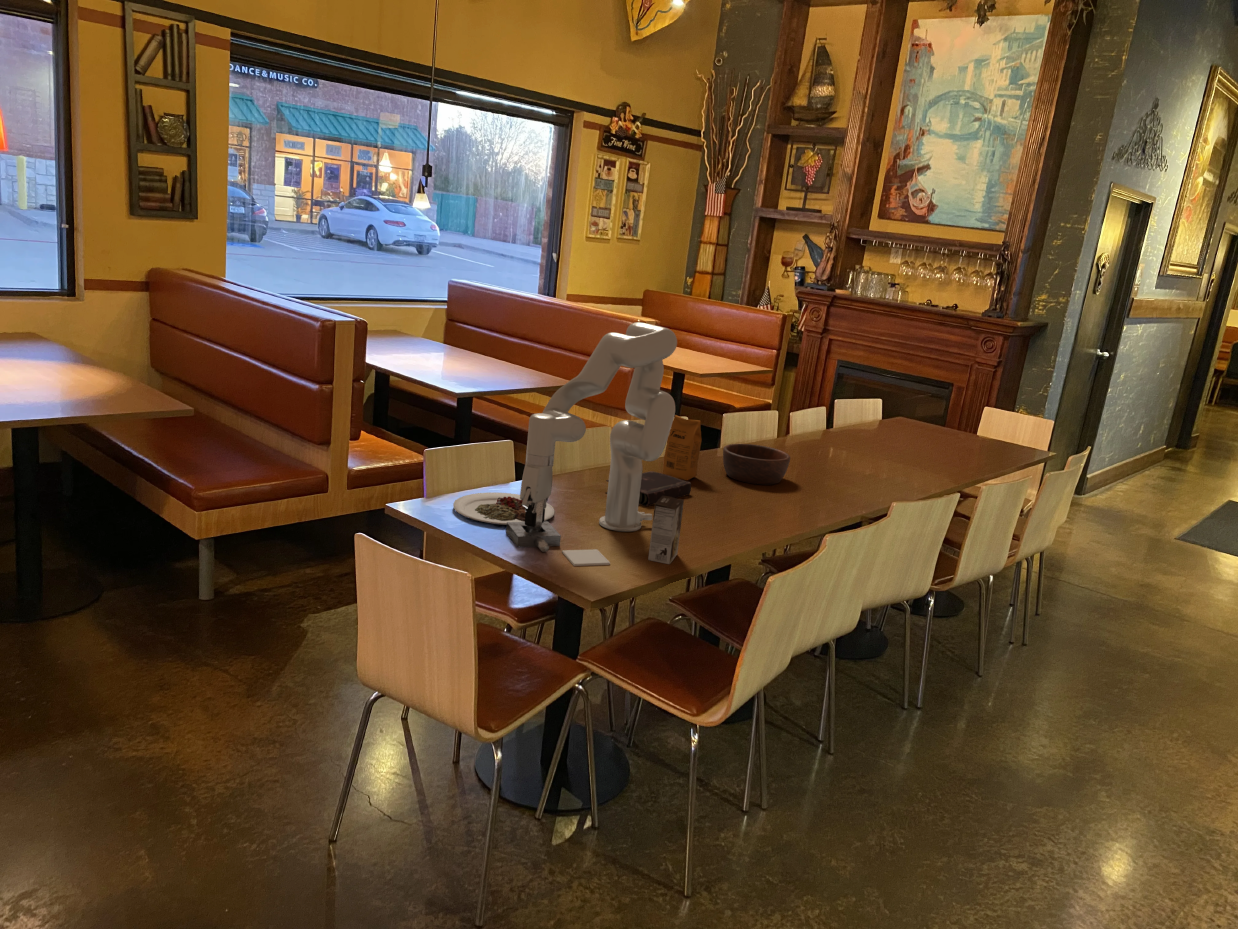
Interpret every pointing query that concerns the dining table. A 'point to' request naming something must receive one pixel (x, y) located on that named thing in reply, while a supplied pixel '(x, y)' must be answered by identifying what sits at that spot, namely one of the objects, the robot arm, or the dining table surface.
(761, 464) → the wooden bowl
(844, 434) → the dining table surface
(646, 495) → the diary
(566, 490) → the dining table surface
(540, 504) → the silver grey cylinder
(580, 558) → the pad
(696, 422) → the coffee package
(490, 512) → the plated food
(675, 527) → the coffee box
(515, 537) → the chuck block
